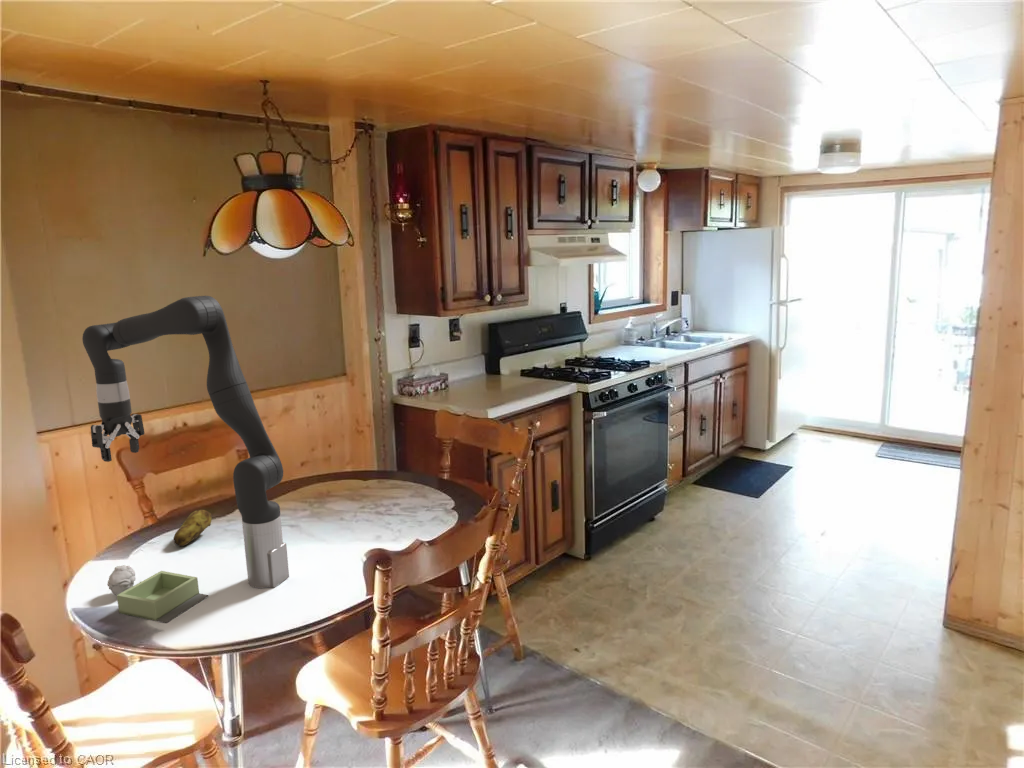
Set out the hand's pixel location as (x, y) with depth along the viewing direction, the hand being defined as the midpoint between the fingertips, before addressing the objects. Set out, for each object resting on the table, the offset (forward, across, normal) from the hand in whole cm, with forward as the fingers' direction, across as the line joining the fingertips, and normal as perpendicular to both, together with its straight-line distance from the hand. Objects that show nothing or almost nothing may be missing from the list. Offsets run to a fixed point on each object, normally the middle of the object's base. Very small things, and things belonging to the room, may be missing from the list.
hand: (121, 456), depth 185 cm
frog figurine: (+30, -17, -15) cm, 37 cm away
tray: (+29, -18, -29) cm, 45 cm away
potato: (+30, +14, -7) cm, 33 cm away
